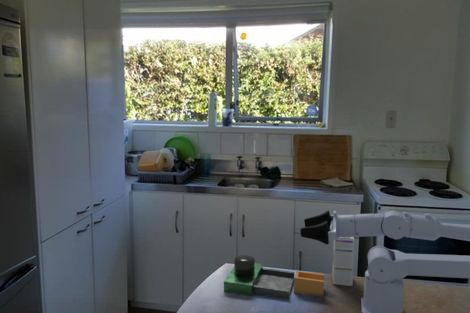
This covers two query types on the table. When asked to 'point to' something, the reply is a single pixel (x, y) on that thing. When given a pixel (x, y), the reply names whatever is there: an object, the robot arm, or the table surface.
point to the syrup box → (343, 261)
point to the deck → (257, 279)
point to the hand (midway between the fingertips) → (302, 227)
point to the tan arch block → (309, 283)
